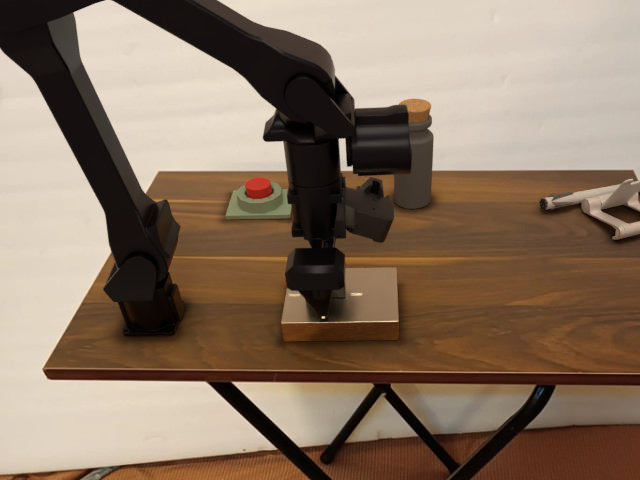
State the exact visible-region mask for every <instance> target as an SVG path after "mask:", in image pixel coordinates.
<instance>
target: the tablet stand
mask: <svg viewBox="0 0 640 480" xmlns="http://www.w3.org/2000/svg"><path fill="white" fill-rule="evenodd" d="M637 181H638V182H635V181H634V178H629V179H625V180H624V181H622V182H621V183H620V184H621V185H620V186H619V187H618V188H617V189H616V190H615V191H614V192H613V193H609V194H604V195H600V196H595V197H591V198H586V199H583V200H582V203H580V207H581V210H582V212H583V213H584V214H587V215H588V216H591V217H593V218H595V219H597V220H599V221H601V222H603V223H605V224H607V225H609V226H611V227H613V228H614V229H615V235H614V236H612V237H611V238H612V240H615V241H616V240H621V239H627V238H630V237H634V236H638V235H640V220H639V221H634V222H630V223H627V222H626V221H623V220H621V219H620V218H616V217H615V216H612V215H610V214H608V213H606V212H604V211H603V210H607V209H611V208H615V207H619V206H625V207H628V208H630V209H633V210H634V211H637V212H638V213H640V201H639V192H638V191H639V190H640V180H637ZM632 182H634V183H632Z"/></svg>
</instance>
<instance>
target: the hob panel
mask: <svg viewBox="0 0 640 480" xmlns="http://www.w3.org/2000/svg"><path fill="white" fill-rule="evenodd" d="M345 271H346V273H345V285H346V294H345V297H342V298H331V300H330V306H329V312H328V316H318V314H317V313H316V312H315V311H314V309H313V308H312V307H311V306H310V304H309V303H308V302H307V301H306V300H305V298H304V297H303V296H302V295H301V294H300V293H299V292H298V291H291V290H290V289H288V288H287V287H286V292H285V298H284V304H283V309H282V315H281V320H280V321H281V322H280V324H281V325H280V326H281V332H282V337H283V342H346V341H347V342H349V341H350V342H351V341H355V342H356V341H399V339H400V338H399V337H400V335H399V333H400V326H399V325H400V324H399V323H400V319H399V294H398V289H399V288H398V268H397V267H396V266H395V267H394V266H393V267H392V266H391V267H390V266H387V267H345Z"/></svg>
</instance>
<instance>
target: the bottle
mask: <svg viewBox="0 0 640 480" xmlns="http://www.w3.org/2000/svg"><path fill="white" fill-rule="evenodd" d="M398 105H406V106H407V108H408V113H409V137H410V144H411V149H412V165H411V173H410V174H400V175H393V182H394V183H393V197H394V199H393V200H394V203H395V204H396V205H397V206H399V207H401V208H404V209H409V210H417V209H421V208H424V207H425V208H426V206H428V205H429V204H430V202H431V199H432V184H433V183H432V181H433V166H434V165H433V162H434V139H435V138H434V137H435V136H434V134H433V132H432V130H430V129H429V128H431V126H432V125H433V117H432V115H431V114H430V113H431V108H432V104H431V102H429V100H426V99H422V98H408V99H404V100H401V101H399V103H398Z"/></svg>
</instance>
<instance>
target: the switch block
mask: <svg viewBox="0 0 640 480" xmlns="http://www.w3.org/2000/svg"><path fill="white" fill-rule="evenodd" d="M271 186H272V194H271V195H270V196H269V197H266V198H263V199H252V198H248V197H247V194H246V188H245V184H243V185H242V186H240V187H239V188H238V189H233V191H232V194H231V197H230V200H229V203H228V206H227V209H226V213H225V216H224V217H225V220H277V219H279V220H281V219H291V217H292V207H291V204H288V201H287V192H288V188H282V187H281V186H280V185H279V183H277V182H274V181H271Z"/></svg>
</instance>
